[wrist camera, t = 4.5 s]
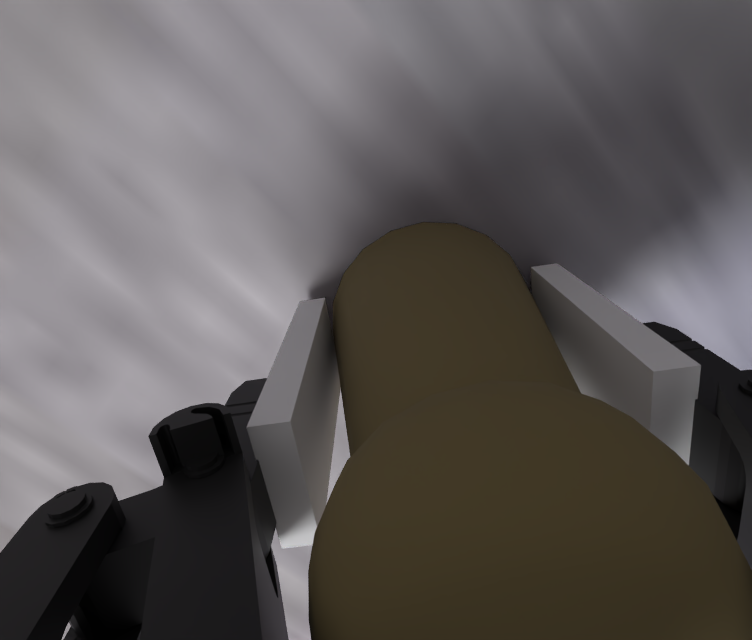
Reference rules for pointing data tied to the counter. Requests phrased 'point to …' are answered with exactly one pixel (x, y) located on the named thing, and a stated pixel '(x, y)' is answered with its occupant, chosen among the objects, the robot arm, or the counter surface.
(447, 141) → the counter surface
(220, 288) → the counter surface
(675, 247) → the counter surface
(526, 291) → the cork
